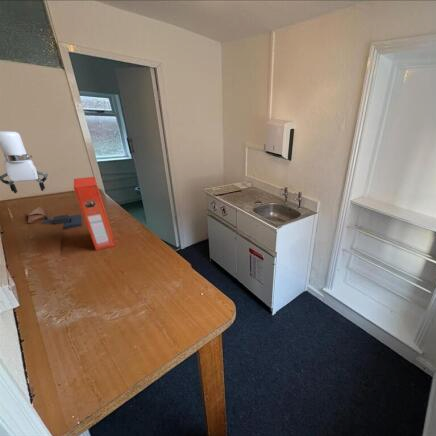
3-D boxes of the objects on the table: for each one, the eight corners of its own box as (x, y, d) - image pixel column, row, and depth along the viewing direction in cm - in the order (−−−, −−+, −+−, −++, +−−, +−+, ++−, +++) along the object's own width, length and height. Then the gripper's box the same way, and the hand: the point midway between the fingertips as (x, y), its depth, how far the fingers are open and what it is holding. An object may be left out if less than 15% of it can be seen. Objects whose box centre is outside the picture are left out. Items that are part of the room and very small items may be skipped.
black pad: (55, 226, 132) (53, 220, 130) (56, 222, 136) (53, 216, 134) (69, 224, 135) (67, 217, 133) (70, 220, 139) (67, 214, 138)
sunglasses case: (25, 214, 144) (29, 204, 144) (41, 217, 149) (45, 207, 149) (27, 223, 133) (32, 213, 133) (45, 226, 139) (49, 216, 139)
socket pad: (42, 233, 125) (41, 230, 125) (45, 222, 137) (44, 219, 136) (81, 225, 135) (80, 223, 134) (81, 216, 146) (80, 214, 145)
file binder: (95, 250, 112) (73, 187, 100) (93, 236, 124) (73, 178, 111) (115, 245, 117) (97, 184, 104) (112, 232, 129) (95, 176, 116)
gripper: (42, 156, 122) (53, 187, 129) (-9, 157, 112) (6, 191, 118) (41, 158, 117) (52, 191, 124) (-13, 160, 106) (2, 195, 113)
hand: (29, 191), depth 121 cm, fingers open, 9 cm apart
